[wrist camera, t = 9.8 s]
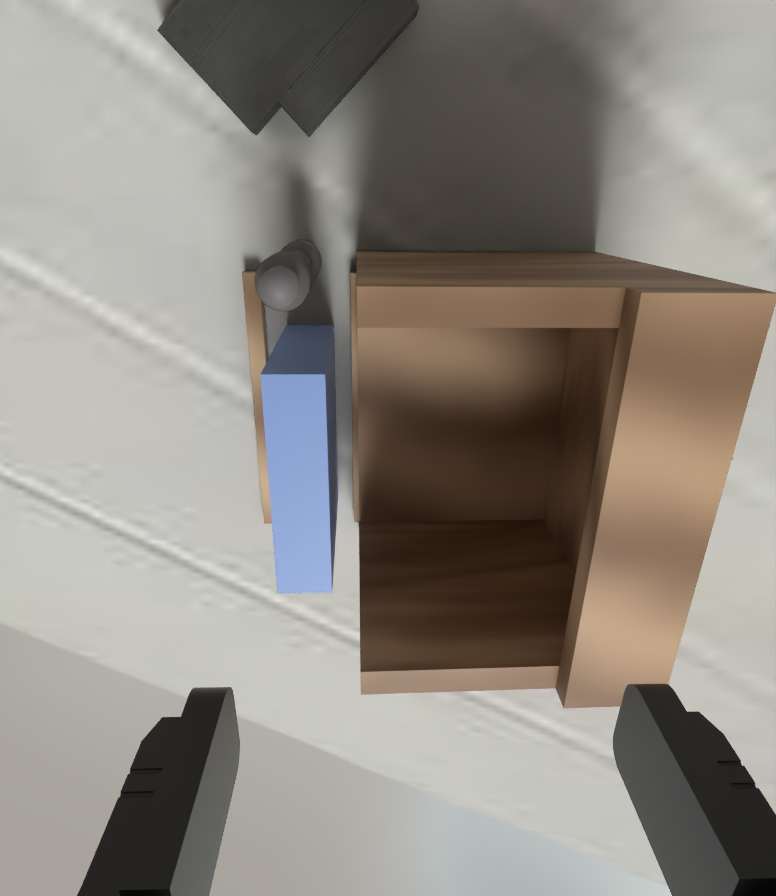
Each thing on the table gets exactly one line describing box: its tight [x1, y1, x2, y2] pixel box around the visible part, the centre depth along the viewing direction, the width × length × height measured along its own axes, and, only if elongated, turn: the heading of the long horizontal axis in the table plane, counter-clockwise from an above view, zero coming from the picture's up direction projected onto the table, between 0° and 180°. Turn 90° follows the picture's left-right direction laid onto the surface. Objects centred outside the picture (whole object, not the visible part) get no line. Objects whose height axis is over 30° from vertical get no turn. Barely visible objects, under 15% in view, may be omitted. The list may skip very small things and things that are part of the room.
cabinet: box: [242, 240, 776, 708], centre depth 25 cm, size 17×18×14 cm
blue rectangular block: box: [260, 325, 338, 593], centre depth 27 cm, size 10×2×9 cm, turn 179°
